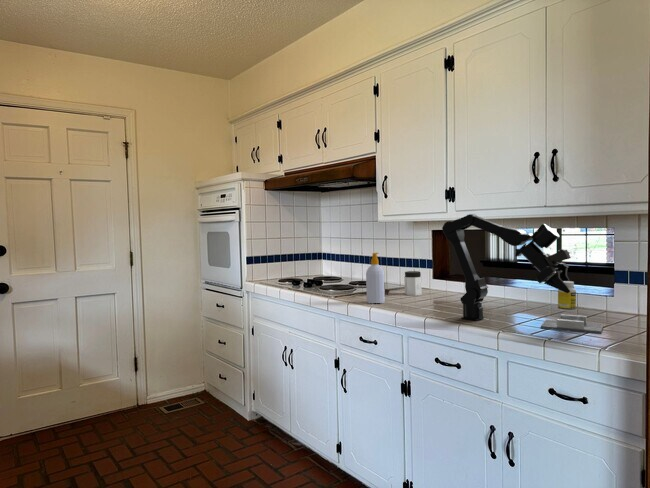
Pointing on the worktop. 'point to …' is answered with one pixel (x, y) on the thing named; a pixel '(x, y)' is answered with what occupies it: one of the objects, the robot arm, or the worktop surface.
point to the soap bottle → (375, 282)
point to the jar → (412, 283)
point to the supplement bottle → (567, 298)
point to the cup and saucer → (386, 289)
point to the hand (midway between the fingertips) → (571, 291)
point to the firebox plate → (573, 324)
